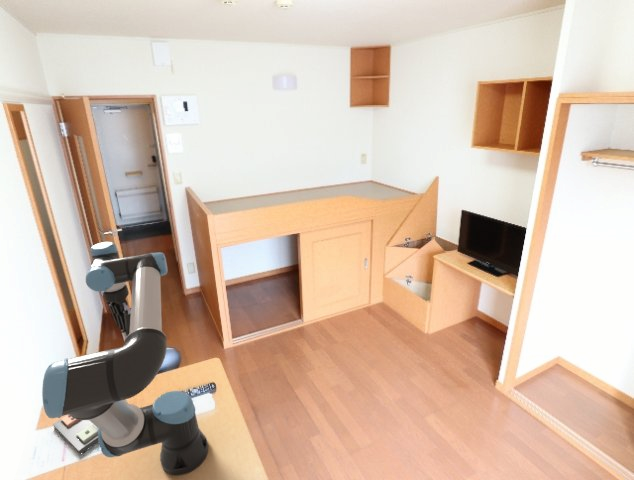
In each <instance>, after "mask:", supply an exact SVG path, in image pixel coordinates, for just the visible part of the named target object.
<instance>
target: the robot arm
mask: <svg viewBox="0 0 634 480" xmlns="http://www.w3.org/2000/svg"><path fill="white" fill-rule="evenodd" d="M89 249H90V257H91V258H92V261H91V263H90V266H89V268H88V269H87V271H86V275H85V284H86V286H87V287H88V288H89V289H91V291H95V292H98V293H99V292H102V295H103V299H104V301H105V302H106V304H107V306H108V308H109V310H110V313H111V315H112V317H113V320H114V323H115V326H116V327H117V328H119V330H121V335H122V337H123V338H122V339H123V341H124V343H123V345H122V346H119V347H115V348H110V349H106V350H102V351H98V352H93V353H89V354H85V355H80V356H77V357H76V356H75V357H72V358H65V359H63V360H59V361H56V362H51V364H50V365H48V367H47V368H46V370H45V373H44V375H43V379H42V387H41V388H42V390H41V392H42V403H43V404H42V405H43V406H42V407H43V410H44V413H45V415H46V416H47V418H49V419H56V418H58V419H61V418H62V417H65V416H66V415H70V416H72V417H73V418H75V419H78V420H89V421H91V422H92V423H93V424H94V425H95V426H97V427H98V428H99V429H98V446H99V448H100V451H101V453H102V454H103V456H105V457H106V458H115V457H121V456H123V455H125V454H129V453H131V452H135V451H138V450H141V449H144V448H148V447H152V446H156V445H158V444H161V448H160V450H161V451H160V455H159V459H160V465H161V468H162V469H163V471H164V472H165V473H167V474H169V475H172V476H181V475H183V476H184V475H185V474H189V473H191V472H192V471H193V472H194V470H196V469H197V468H198V467H200V465H201V464H203V462H204V461H205V459H206V458H207V455H208V452H209V443H208V440H207V437H206V435H205V434H204V432H202V430H201V429H200V427H199V422H198V420H197V415H196V414H197V413H196V407H195V404H194V402H193V398H192V397H191V396H190V394H188V393H186V392H184V391H181V390H171V391H167V392H165V393H163V394H161V395H160V396H158V397H157V398H156V399H155V400H154V402H153V404H149V405H146V406H142V407H139V406H137V405H135V404H132V403H129V402H128V401H127V399H131V398H133V397H135V396H137V395H138V394H140V393H142V392H143V391H144V390H145V389H146V388H147V387H148V386H149V385H150V384H151V383H152V382H153V380H154V379H155V378H156V376H157V375H158V373H159V371H160V369H161V368H162V366H163V364H164V361H165V359H166V354H167V348H168V345H167V344H168V343H167V335H166V334H165V333H164V332H163V324H162V323H163V320H162V293H161V292H162V290H161V288H162V287H161V277H163V276H166V275H167V274H168V263H167V258H166V256H165V253H163V252H149V253H144V254H137V255H132V256H127V257H126V256H125V257H120V254H119V249H118V248H117V244H116V243H115V242H112V241H103V242H99V243H96V244H94V245H92V246H91V247H90V248H89ZM128 282H132V286H131V304H130V307H129V306H128V305H129V304H128V301H127V300H126V299H127V297H128V296H129V292H130V291H129V289H128V285H127V283H128Z"/></svg>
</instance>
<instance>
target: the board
mask: <svg viewBox="0 0 634 480" xmlns="http://www.w3.org/2000/svg"><path fill="white" fill-rule="evenodd" d="M61 419H62V418H59V419H58V420H57V421H55V422H54V423H52V425H53V428H54V429H55V431H57V433H58V434H60V436H62V438H63V439H64V440H65V441H66V442H67V443H68V444H69V445H70V446H71V447H72V448H73V450H75V452H77V453H78V454H79V455H80V454H81V453H82V454H83V452H84V451H85V452H87V451H88V450H89V449H91V448H92V447H94V446H95V445H97V444H99V442H98V435H96V436H95V437H94V438H92V439H91V440H89V441H88V442H87V443H85V444H84V445H83V444H82V443H81V442H80V441H79V440H78V437H77V433H79V432H80V431H82V430H83V429H85V428H86V427H88V426H89V425H91V424H92V425H93V426H94V427H95V428H96V429H97V430H98V429H99V428H98V427H97V426H95V425H94V424H93V423H92V422H91V421H89V420H80V421H78V422H77V423H75V424H74V425H72V426H71V427H69V428H68V429H67V428H66V427H65V426H64V425H63V422H62V420H61ZM94 444H95V445H94ZM91 446H92V447H91ZM90 447H91V448H90ZM88 448H89V449H88ZM87 449H88V450H87ZM86 450H87V451H86ZM85 452H84V453H85ZM82 454H81V455H82Z"/></svg>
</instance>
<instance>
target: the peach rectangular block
mask: <svg viewBox="0 0 634 480" xmlns="http://www.w3.org/2000/svg"><path fill="white" fill-rule="evenodd" d="M60 419H61V420H62V422H63V425H64V426H65V427H66V428H67V429H68V428H69V427H71V426H72V425H74V424H75V423H77V422H78V421H80V420H78V419H75V418H73V417H72V416H70V415H64V416H62V417H61V418H60Z"/></svg>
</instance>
